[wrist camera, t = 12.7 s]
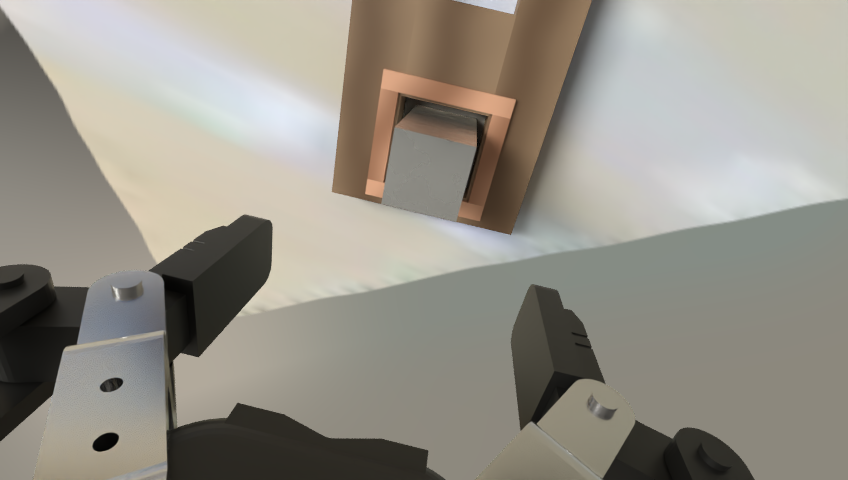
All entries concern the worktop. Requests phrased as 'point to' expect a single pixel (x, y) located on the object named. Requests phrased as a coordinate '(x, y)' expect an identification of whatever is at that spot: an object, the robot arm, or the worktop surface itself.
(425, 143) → the steel peg
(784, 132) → the worktop surface
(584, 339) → the robot arm
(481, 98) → the socket board
